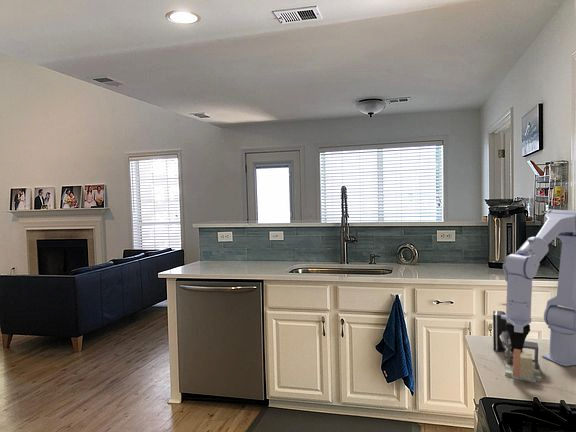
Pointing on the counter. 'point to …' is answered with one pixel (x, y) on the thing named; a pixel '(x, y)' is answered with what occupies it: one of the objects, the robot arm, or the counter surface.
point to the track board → (509, 366)
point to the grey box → (529, 346)
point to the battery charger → (498, 330)
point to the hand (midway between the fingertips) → (516, 351)
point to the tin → (506, 337)
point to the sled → (522, 366)
